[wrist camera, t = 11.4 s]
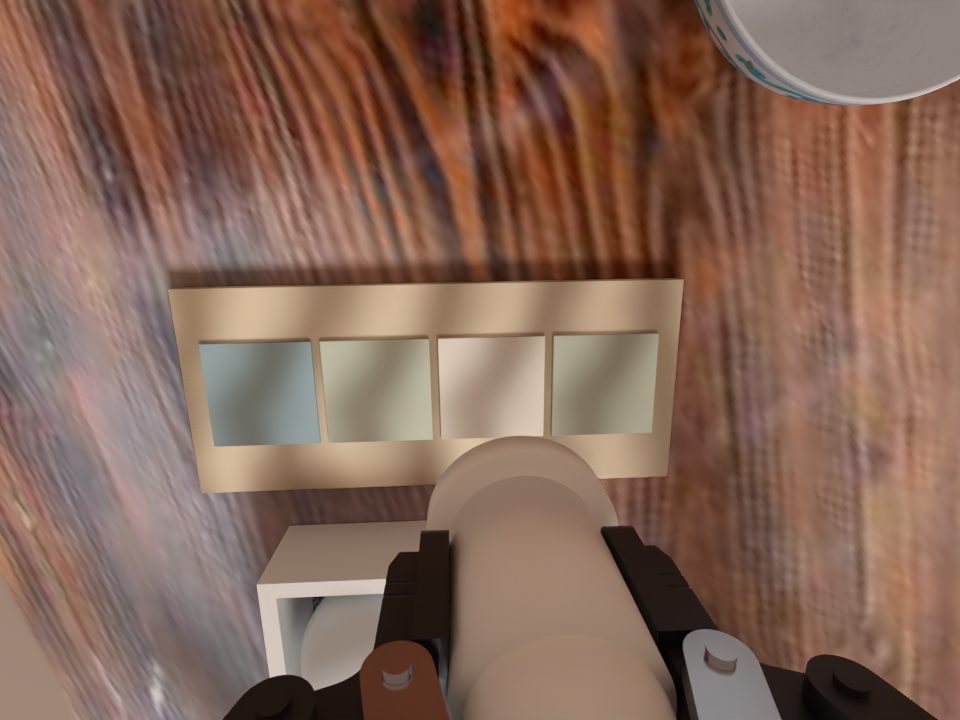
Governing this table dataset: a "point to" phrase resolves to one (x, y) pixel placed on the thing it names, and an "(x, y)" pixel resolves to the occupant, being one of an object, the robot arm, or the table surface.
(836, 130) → the table surface
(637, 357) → the board
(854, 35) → the chinaware
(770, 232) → the table surface
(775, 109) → the table surface
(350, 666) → the dome
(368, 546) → the button housing
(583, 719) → the pawn
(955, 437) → the table surface
